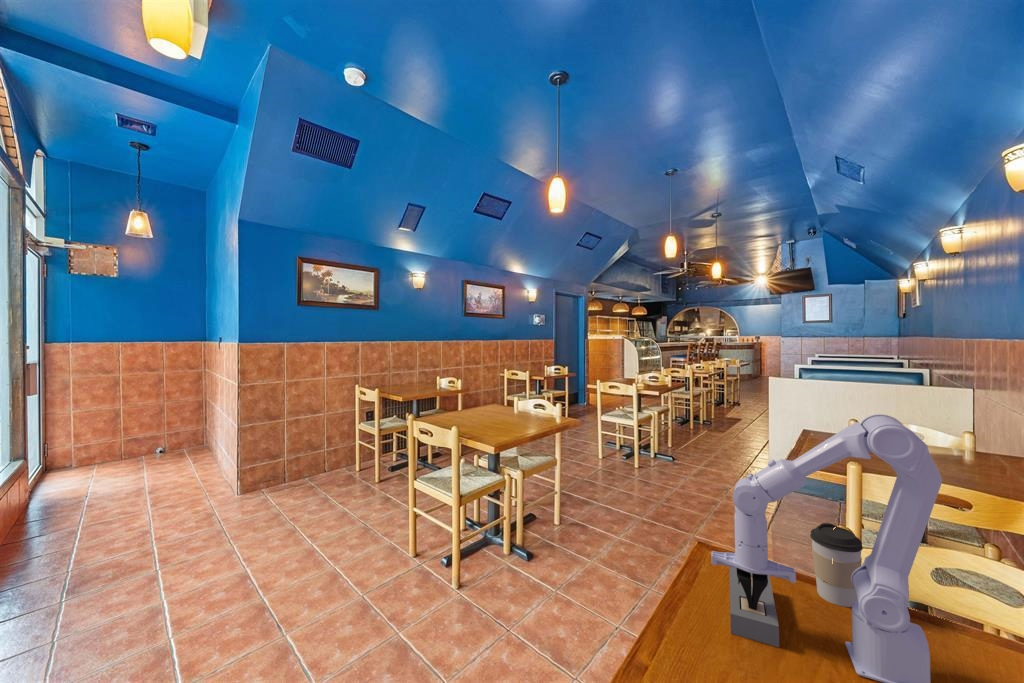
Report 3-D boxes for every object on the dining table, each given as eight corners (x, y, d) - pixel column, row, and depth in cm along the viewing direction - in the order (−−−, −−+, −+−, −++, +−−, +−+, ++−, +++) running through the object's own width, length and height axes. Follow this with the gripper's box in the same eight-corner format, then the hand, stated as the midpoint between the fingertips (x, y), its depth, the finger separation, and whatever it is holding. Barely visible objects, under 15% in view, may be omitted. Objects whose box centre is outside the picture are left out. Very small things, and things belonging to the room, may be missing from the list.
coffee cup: (874, 612, 82) (873, 542, 82) (825, 608, 84) (824, 538, 84) (847, 586, 91) (845, 521, 91) (803, 582, 93) (801, 519, 93)
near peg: (763, 620, 81) (763, 602, 81) (765, 633, 77) (765, 615, 77) (741, 614, 83) (740, 597, 83) (742, 626, 79) (741, 609, 79)
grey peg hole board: (769, 591, 90) (769, 574, 90) (779, 647, 74) (778, 626, 74) (729, 582, 94) (729, 565, 94) (730, 633, 78) (730, 613, 78)
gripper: (791, 538, 80) (792, 604, 80) (711, 524, 87) (712, 585, 87) (797, 556, 74) (798, 627, 74) (710, 539, 81) (712, 604, 81)
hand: (752, 606), depth 80 cm, fingers closed, pressing on near peg
